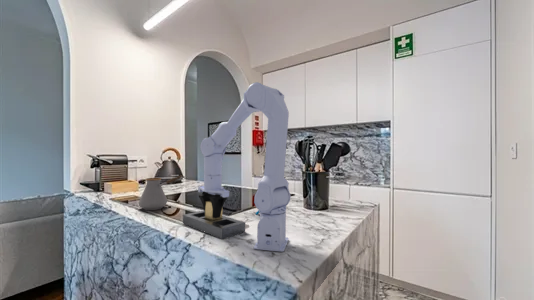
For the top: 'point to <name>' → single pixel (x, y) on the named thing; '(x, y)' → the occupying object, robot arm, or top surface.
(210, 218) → the tan rectangular block
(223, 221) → the grey compartment tray
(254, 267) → the top surface
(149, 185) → the coffee pot
